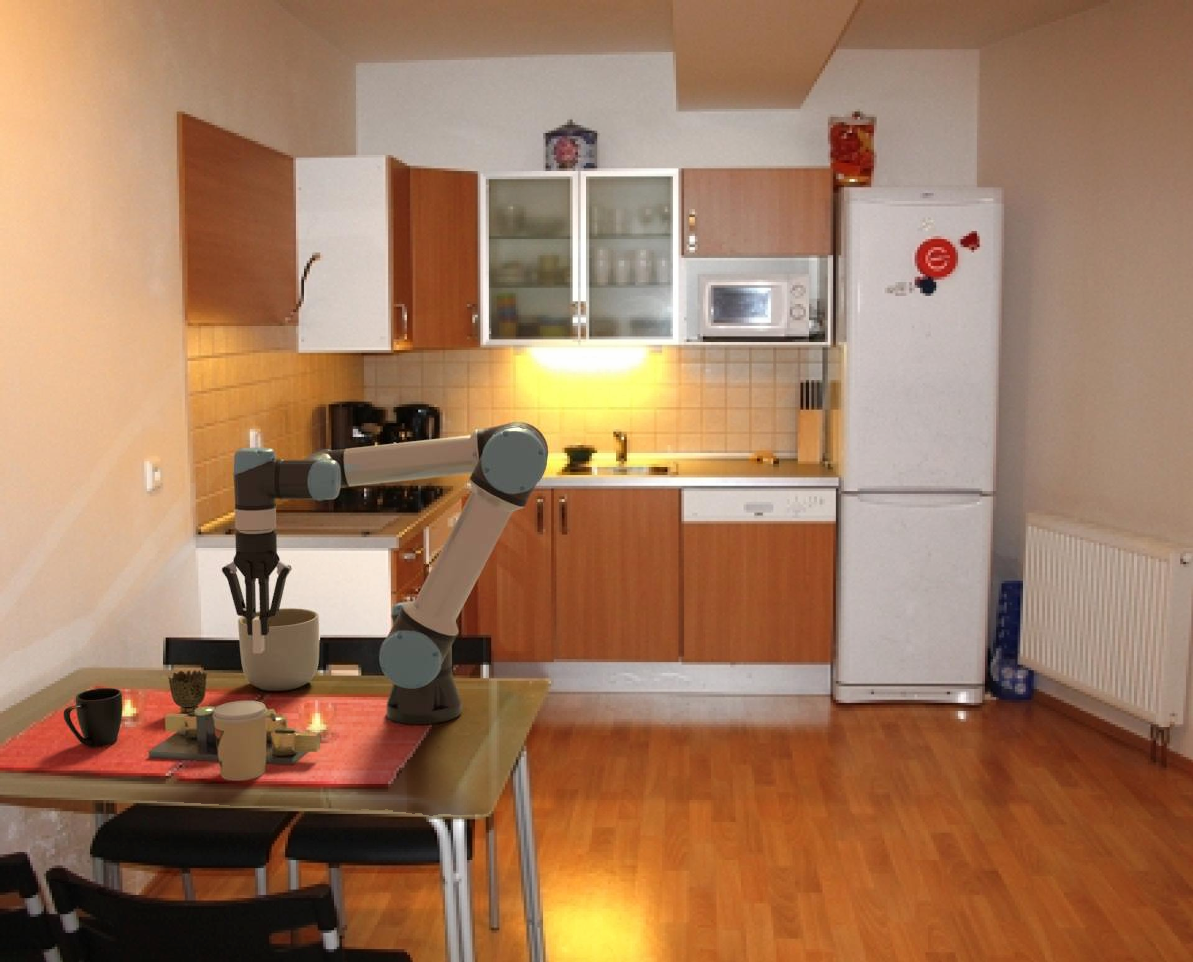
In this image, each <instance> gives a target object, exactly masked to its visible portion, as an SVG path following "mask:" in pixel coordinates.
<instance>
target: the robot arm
mask: <svg viewBox="0 0 1193 962" xmlns="http://www.w3.org/2000/svg"><path fill="white" fill-rule="evenodd" d="M548 447H549V446H548V442H547V439H546V438H545V436H544V435H543V433H542V432H541V431H540V430H539V429H538V428H536V427H535V426H534V425H532V424H529V422H524V421H523V422H522V421H513V422H509V423H505V424H501V425H497V426H493V427H491V426H490V427H486V428H485V427H484V428H477V429H475V430H474V431H473V433H471V434H469V435H460V436H452V437H450V436H449V437H442V438H433V439H424V440H423V439H422V440H416V441H415V440H414V441H405V442H398V443H397V442H396V443H388V444H379V445H378V444H377V445H370V446H362V447H360V446H359V447H350V448H344V449H343V448H342V449H333V450H331V449H325V448H324V449H320V450H319V449H318V450H315V451H314V452H311V453H310V454H309V455H308V456H306V457H305V458H303V459H283V458H281V459H280V458H277V457H276V453H275V450H273V448H269V447H262V446H258V447H244V448H239V449H237V450H236V452H235V453H234V458H233V473H232V475H233V490H234V528H235V529H236V530H237V531H236V532H235V533H234V534H235V539H234V540H235V555H234V557H233V561H232V562H230V563H229V564H226V565H224V566H223V567H221V572H222V574H223V575H224V576H225V578H226V579H227V582H228V587H229V590H230V593H231V594H230V595H231V599H232V600H233V606H234V609H235V612H236V615H237V616H238V617H242V616H243V617H245V618H246V619H247V633H248V635H253V653H257V654H261V653H262V652H263V651H264V650H265V648H264V635H267V634H268V633H269V617H272V616H275V615H276V614H277V613H278V612H279V609H281V608H280V606H281V602H282V598H283V594H284V590H285V585H286V581H287V577H288V576H289V574H290V573H291V571H292V566H291V565H289V564H287V565H286V564H285V563H283V562H281V561H280V560H281V559H280V556H279V555H278V549H277V548H278V546H277V545H278V544H277V543H278V542H277V541H278V539H277V531H276V530H275V528H277V504H276V500H310V501H313V500H314V501H315V500H316V501H320V502H321V501H324V500H325V501H326V500H335V499H336V498H338V496H339V495H340V491H341V488H349V487H357V486H365V485H375V484H377V485H378V484H385V483H395V482H396V483H397V482H404V481H406V482H407V481H414V480H424V479H432V478H442V477H452V476H462V475H470V477H469V479H468V480H469V483H470V487H471V493H470V494H469V497H468V498H467V500H466V502H465V504H464V506H463V508H462V510H461V512H460V514H459V516H458V518H457V519H456V521H455V523H454V524H453V527H452V529H451V531H450V533H449V535H448V536H447V538H446V540H445V543H443V546H442V548H441V550H440V551H439V554H438V555H437V558H436V560H435V561H434V564H433V565H432V567H431V569H430V571H429V573H428V575H427V577H426V579H425V581H424V583H423V584H422V587H421V588H420V590H419V593H418V594H417V596H416V598H415V600H412V601H404V602H397V603H396V604H394V605H393V606H392V609H391V610H392V612H391V615H390V616H391V617H390V618H391V619H392V626H391V629H390V631H389V632H388V635H387V636H386V638H385V639H384V640H383V641H382V643H381V645H380V649H379V660H378V661H379V665H380V668H381V671H382V673H383V674H384V676H385V677H386V678H387V679H388V681H390V682H391V683H392V685H391V688H390V691H389V695H388V698H387V702H386V717H387V718H388V719H389V720H391V721H393V722H395V723H398V724H399V723H400V724H404V725H405V724H406V725H433V724H439V723H443V722H447V721H450V720H454V719H456V718H458V717H460V715H461V714H462V712H463V707H462V705H463V703H462V698H461V695H460V693H459V690H458V687H457V684H456V682H455V681H456V680H455V679H454V677H453V659H452V657H453V656H452V653H453V652H452V645H453V643H454V642H455V640H456V638H457V636H458V634H459V628H458V624H457V622H456V620H457V619H458V617H459V615H460V614H461V611H462V609H463V607H464V605H465V603H466V602H467V599H468V597H469V596H470V594H471V593H472V590H473V588H474V586H475V585H476V583H477V581H478V579H479V577H480V575H481V573H482V571H483V569H484V567H485V565H486V563H487V561H488V560H489V558H490V556H491V555H492V552H493V550H494V548H495V546H496V544H497V543H498V540H500V537H501V535H502V533H503V531H504V530H505V527H506V525H507V524H508V522H509V520H510V518H511V516H512V514H513V513H514V512H515V511H519V510H521V509H524V508H525V507H526V505H527V503H528V501H529V499H530V497H531V495H532V493H533V491H534V490H535V488H536V486H537V484H538V483H539V482H540V481H541V480H542V478H543V476H544V475H545V472H546V469H547V465H548V456H549V448H548ZM238 570H239V571H240V573H241V574H242V576H243V577H244V585H245V599H244V596H243V595H244V594H243V592H242V588H241V584H240V580H239V577H238V574H237V572H238ZM274 570H276V574H277V575H278V576H277V578H276V581H275V586H274V590H273V594H272V595H273V596H272V600H271V603H270V576H271V575H272V573H273V572H274ZM256 581H258V583H257V584H258V591H259V593H258V595H259V596H258V597H259V611H260V617H255V615H256V614H257V608H256V607H257V605H256V604H257V603H256V602H257V599H256Z"/></svg>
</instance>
